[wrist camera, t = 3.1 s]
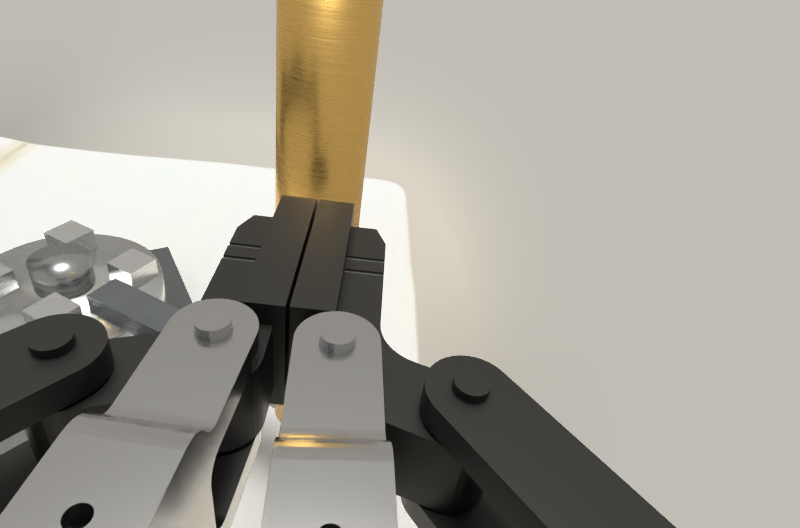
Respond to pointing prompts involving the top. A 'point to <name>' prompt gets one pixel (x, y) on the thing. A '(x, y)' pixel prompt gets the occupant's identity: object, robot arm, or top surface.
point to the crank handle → (295, 167)
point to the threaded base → (172, 299)
